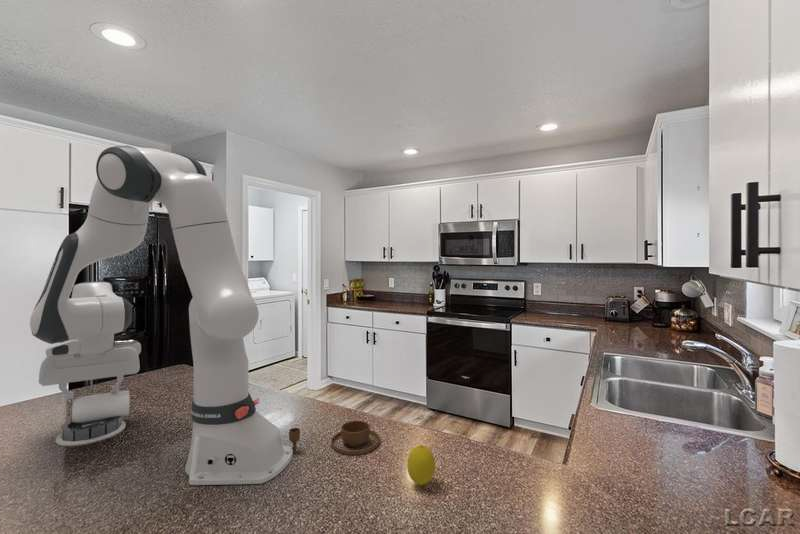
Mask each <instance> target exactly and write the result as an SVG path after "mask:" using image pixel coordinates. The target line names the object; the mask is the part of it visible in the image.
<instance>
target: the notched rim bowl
mask: <svg viewBox="0 0 800 534" xmlns="http://www.w3.org/2000/svg"><path fill="white" fill-rule="evenodd" d="M122 416H123V415H122ZM122 416H116V417H111V418H105V419H99V420H94V421H88V422H82V423H76V422H71V419H70V420H67V421H66V422H65V423H63V425H61V426H60V433H59V434H58V435H57V436H56V437H55V444H56V445H58V446H61V447H78V446H85V445H89V444H90V445H91V444H93V443H94V444H95V443H98V442H101V441H104V440H107V439H110V438H112V437H114V436H116V435H118V434H120V433H122V432H123V431H124V430H125V429H126V426H127V424H126V422H125V421H124V420H123V419H122V418H123V417H122Z"/></svg>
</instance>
